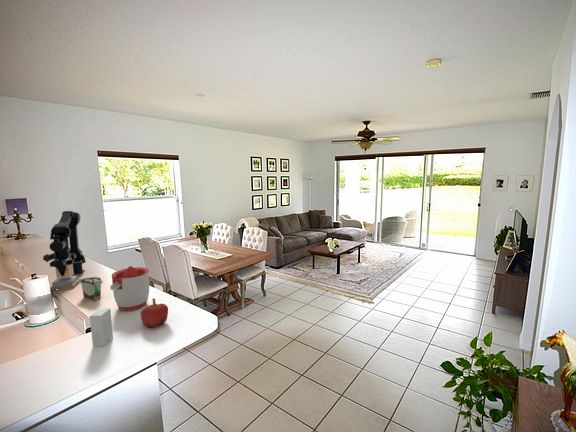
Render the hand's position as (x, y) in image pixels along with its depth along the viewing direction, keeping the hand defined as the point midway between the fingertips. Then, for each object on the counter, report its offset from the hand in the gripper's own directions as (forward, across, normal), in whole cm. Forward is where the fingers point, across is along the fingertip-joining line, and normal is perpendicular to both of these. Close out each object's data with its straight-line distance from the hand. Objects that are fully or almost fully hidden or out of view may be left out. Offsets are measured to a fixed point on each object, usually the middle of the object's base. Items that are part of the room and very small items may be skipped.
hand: (65, 274), depth 158 cm
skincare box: (+7, +72, +37) cm, 81 cm away
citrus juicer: (+7, +42, +41) cm, 59 cm away
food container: (+7, +24, +21) cm, 33 cm away
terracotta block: (+1, 0, 0) cm, 1 cm away
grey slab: (+5, 0, 0) cm, 5 cm away
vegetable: (+7, +64, +54) cm, 84 cm away
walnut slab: (+8, 0, 0) cm, 8 cm away
